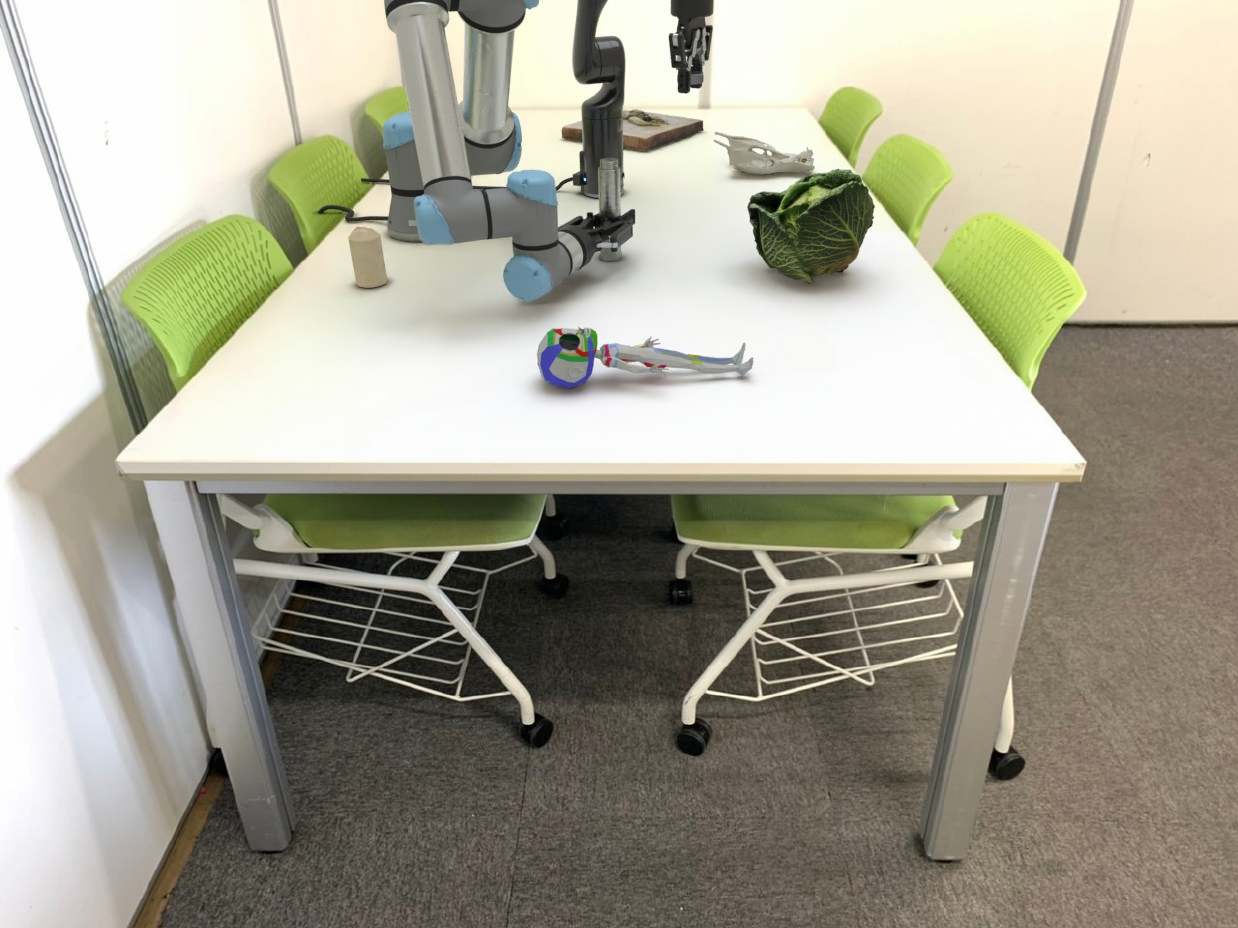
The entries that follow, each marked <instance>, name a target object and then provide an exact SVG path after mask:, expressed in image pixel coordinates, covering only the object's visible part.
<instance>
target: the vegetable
mask: <svg viewBox="0 0 1238 928" xmlns="http://www.w3.org/2000/svg"><path fill="white" fill-rule="evenodd" d="M869 192H870V190H869V187H867V185H864V183H863V180H862V177H861V175H860V174H857V173H854V172H853V171H852V169H841V168H836V169H832V170H830V171H828V172H817V173H812V174H807V175H806V176H804V177H802V178H800V179H799V180H796V181H795V183H793V184H791V185H789V186H788V188H787V189H785V190H783V191H779V192H777V191H767V190H762V191H760V192H757V193H755V194H754V195H751V196H750V197H749V202H748V204H747V206H746V208H747V212H748V216H749V223H750V225H751V226H752V234H753V237H754V242H755V244H756V246H755V249H756V251H757V253H758V254H759V256H760V257H761V259H762V260H763V262H764V263H765V264H766V266H767V267H768V268H769V269H771V270H772V269H774V270H776V271H777V272H778V273H780V274H781V275H784V276H785V277H787V278H790V279H792V280H799V281H805V282H806V283H807V284H810V283H811V282H815V279H814V277H817V276H819V275H824V274H828V275H833V274H834V273H837V274H839V273H842V274H843V273H844V271H845V270H848V268H849V266H850V265H851V264H852V263H853V262H854V261H855V260H856V259H857V258H858V256H859V253H860V248H861V247H862V245H863V243H864V240H865V239H866V235H867V233H868V230H869V229H871V228H872V227H873V223H874V219H875V216H874V212H875V208H876V206H875V204H874V200H873V197H872V196H871V195H870V193H869Z"/></svg>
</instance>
